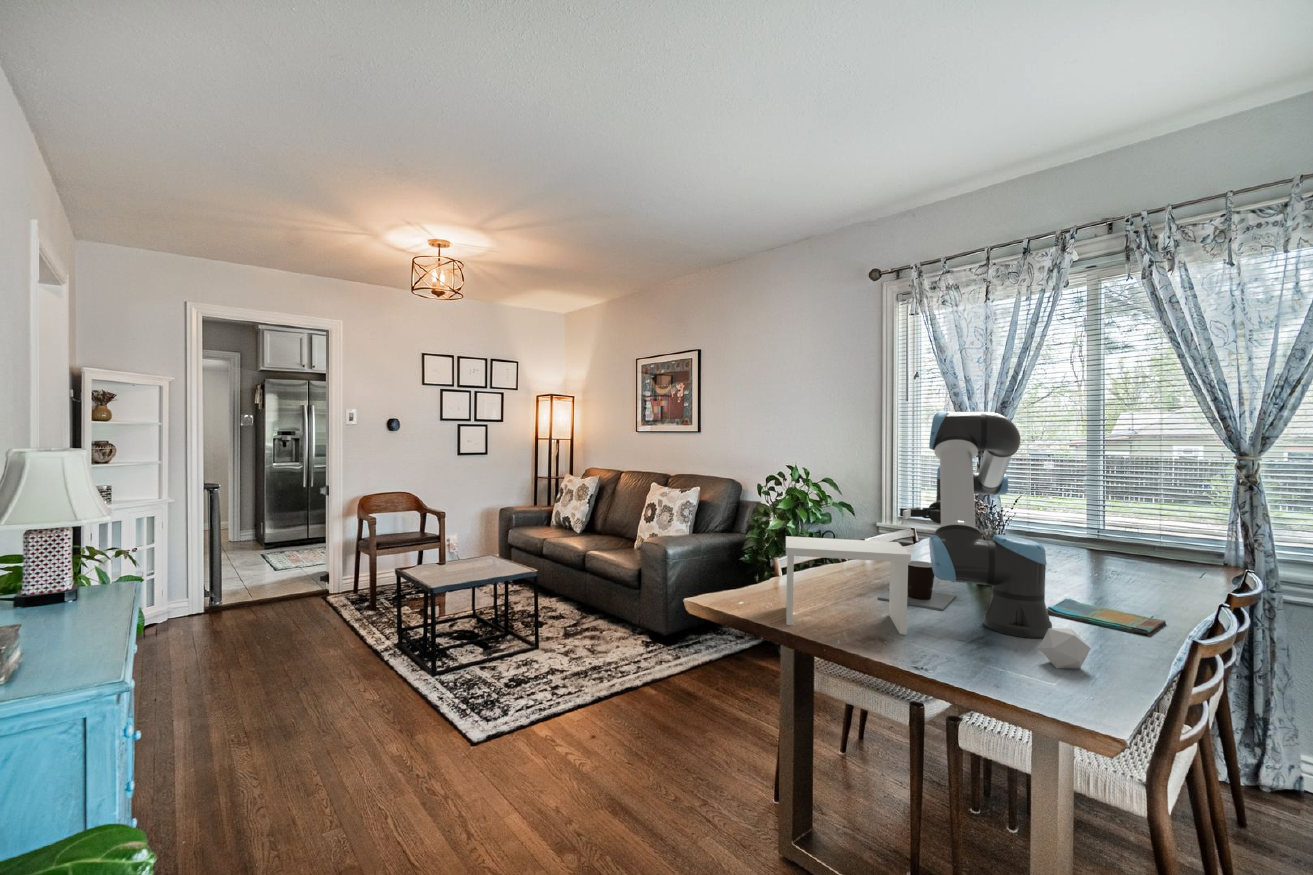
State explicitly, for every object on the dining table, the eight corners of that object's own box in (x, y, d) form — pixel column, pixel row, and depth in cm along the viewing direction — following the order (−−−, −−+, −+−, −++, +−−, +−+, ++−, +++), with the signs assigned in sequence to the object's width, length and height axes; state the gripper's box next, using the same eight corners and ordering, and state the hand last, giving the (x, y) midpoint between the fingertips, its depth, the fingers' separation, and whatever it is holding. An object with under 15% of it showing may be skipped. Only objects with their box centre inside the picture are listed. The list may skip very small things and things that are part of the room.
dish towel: (1065, 605, 180) (1065, 596, 180) (1166, 626, 162) (1166, 616, 162) (1043, 615, 170) (1043, 606, 170) (1148, 639, 151) (1149, 629, 151)
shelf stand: (784, 606, 172) (785, 536, 172) (896, 614, 166) (898, 542, 166) (784, 625, 156) (786, 547, 155) (908, 635, 149) (910, 554, 149)
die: (1089, 680, 125) (1103, 639, 128) (1049, 656, 127) (1064, 616, 130) (1063, 679, 133) (1077, 640, 136) (1026, 656, 135) (1041, 618, 137)
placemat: (956, 597, 185) (956, 595, 185) (943, 610, 170) (943, 608, 170) (894, 587, 196) (894, 585, 196) (877, 599, 181) (877, 597, 181)
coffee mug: (929, 602, 176) (930, 568, 176) (899, 596, 182) (900, 563, 182) (942, 595, 185) (942, 562, 185) (913, 589, 191) (913, 557, 190)
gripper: (982, 526, 201) (970, 533, 184) (903, 519, 216) (885, 525, 199) (982, 503, 201) (970, 508, 184) (903, 498, 216) (886, 502, 199)
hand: (926, 517), depth 191 cm, fingers open, 13 cm apart
